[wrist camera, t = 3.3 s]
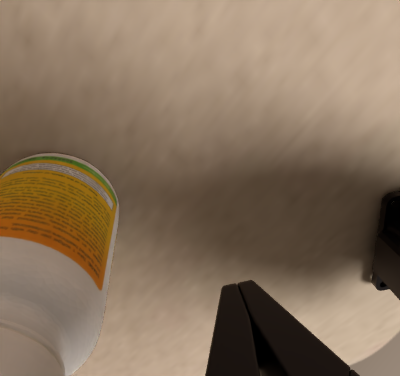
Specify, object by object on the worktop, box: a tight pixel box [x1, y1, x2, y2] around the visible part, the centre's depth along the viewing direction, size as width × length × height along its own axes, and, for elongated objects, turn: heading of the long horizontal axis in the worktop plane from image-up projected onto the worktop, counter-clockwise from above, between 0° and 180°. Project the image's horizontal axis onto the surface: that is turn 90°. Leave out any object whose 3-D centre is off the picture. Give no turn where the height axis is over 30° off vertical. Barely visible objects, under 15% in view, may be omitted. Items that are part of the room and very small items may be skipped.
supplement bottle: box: [0, 153, 119, 376], centre depth 11 cm, size 5×5×10 cm
